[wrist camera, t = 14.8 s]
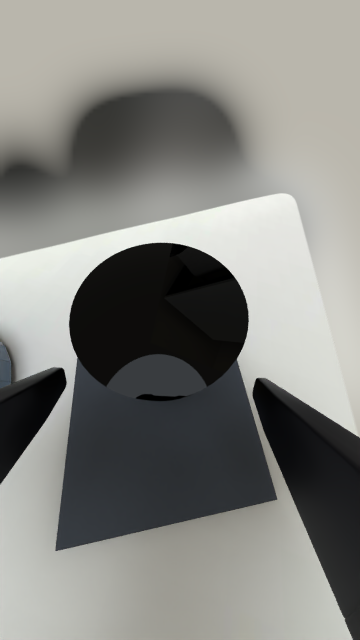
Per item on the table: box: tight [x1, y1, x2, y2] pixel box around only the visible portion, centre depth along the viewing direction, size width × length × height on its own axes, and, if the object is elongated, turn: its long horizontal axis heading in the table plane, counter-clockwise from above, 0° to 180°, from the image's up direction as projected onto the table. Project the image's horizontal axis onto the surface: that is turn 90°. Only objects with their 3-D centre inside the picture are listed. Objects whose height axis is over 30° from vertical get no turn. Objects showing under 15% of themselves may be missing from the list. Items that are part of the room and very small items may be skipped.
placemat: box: [56, 358, 277, 551], centre depth 16 cm, size 20×15×1 cm
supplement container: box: [69, 243, 249, 401], centre depth 11 cm, size 7×7×10 cm
